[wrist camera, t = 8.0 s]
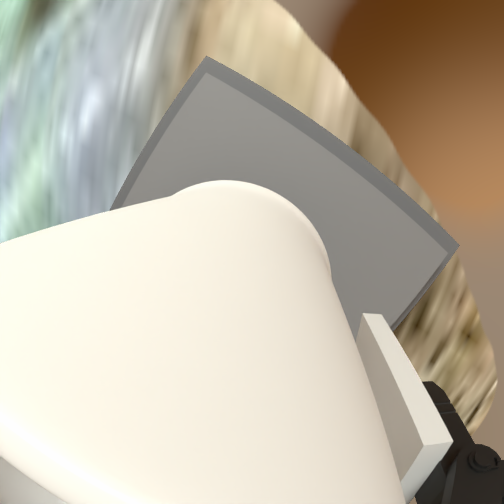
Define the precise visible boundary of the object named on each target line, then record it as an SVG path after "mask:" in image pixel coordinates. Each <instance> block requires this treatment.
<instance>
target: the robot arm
mask: <svg viewBox="0 0 504 504" xmlns="http://www.w3.org/2000/svg"><path fill="white" fill-rule="evenodd" d="M356 346H357V348H358V351H359V354H360V357H361V359H362V362H363V365H364V368H365V371H366V374H367V377H368V379H369V382H370V385H371V388H372V391H373V394H374V397H375V400H376V403H377V406H378V409H379V412H380V416H381V419H382V422H383V425H384V428H385V431H386V435H387V438H388V441H389V445H390V448H391V451H392V455H393V458H394V462H395V465H396V469H397V472H398V476H399V479H400V483H401V487H402V490H403V494H404V498H405V502H406V504H409V503H410V501H411V500H412V499H413V498H414V497H415V498H416V502H417V504H504V460H501V458H500V457H499V455H498V454H497V453H496V452H495V451H494V450H493V449H491V448H490V447H488V446H485V445H482V444H475V443H474V441H473V440H472V438H471V436H470V434H469V433H468V431H467V429H466V427H465V426H464V424H463V422H462V420H461V419H460V417H459V415H458V413H456V412H455V411H456V410H455V408H454V407H453V405H452V404H450V400H449V398H448V397H447V395H446V393H445V392H444V390H442V389H441V388H440V387H439V386H438V385H436V384H435V383H434V382H433V381H428V382H422V381H421V380H420V378H419V376H418V374H417V373H416V371H415V369H414V367H413V366H412V364H411V362H410V361H409V359H408V357H407V355H406V354H405V352H404V350H403V349H402V347H401V345H400V344H399V342H398V340H397V339H396V337H395V335H394V334H393V332H392V330H391V329H390V327H389V326H388V324H387V322H386V321H385V319H384V318H383V316H382V314H369V313H362V318H361V322H360V327H359V331H358V335H357V339H356Z"/></svg>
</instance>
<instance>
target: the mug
mask: <svg viewBox="0 0 504 504" xmlns="http://www.w3.org/2000/svg"><path fill="white" fill-rule="evenodd" d="M0 504H406V502H405V498H404V494H403V490H402V487H401V483H400V479H399V476H398V472H397V469H396V465H395V462H394V458H393V455H392V451H391V448H390V445H389V441H388V438H387V435H386V431H385V428H384V425H383V422H382V419H381V416H380V412H379V409H378V406H377V403H376V400H375V397H374V394H373V391H372V388H371V385H370V382H369V379H368V377H367V374H366V371H365V368H364V365H363V362H362V359H361V357H360V354H359V351H358V348H357V346H356V343H355V340H354V337H353V335H352V332H351V329H350V327H349V324H348V321H347V319H346V316H345V313H344V311H343V308H342V306H341V303H340V300H339V298H338V295H337V293H336V290H335V288H334V285H333V283H332V277H331V268H330V262H329V258H328V255H327V252H326V249H325V246H324V244H323V242H322V240H321V238H320V236H319V234H318V232H317V231H316V229H315V228H314V226H313V225H312V223H311V222H310V221H309V219H308V218H307V217H306V216H305V215H304V214H303V213H302V212H301V211H300V210H299V209H298V208H297V207H296V206H295V205H293V204H292V203H291V202H290V201H288V200H287V199H285V198H284V197H282V196H281V195H279V194H277V193H275V192H273V191H271V190H269V189H267V188H264V187H262V186H259V185H255V184H252V183H247V182H242V181H234V180H218V181H209V182H204V183H200V184H196V185H193V186H190V187H188V188H185V189H183V190H181V191H179V192H177V193H175V194H174V195H172V196H169V197H165V198H160V199H156V200H152V201H148V202H143V203H139V204H135V205H131V206H127V207H123V208H119V209H115V210H111V211H107V212H104V213H100V214H96V215H92V216H89V217H85V218H81V219H78V220H74V221H71V222H67V223H64V224H60V225H57V226H54V227H50V228H47V229H44V230H40V231H37V232H34V233H31V234H28V235H24V236H21V237H18V238H15V239H12V240H9V241H6V242H3V243H0Z"/></svg>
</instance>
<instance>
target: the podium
mask: <svg viewBox="0 0 504 504" xmlns="http://www.w3.org/2000/svg"><path fill="white" fill-rule="evenodd" d="M218 180H234V181H242V182H247V183H252V184H255V185H259V186H262V187H264V188H267V189H269V190H271V191H273V192H275V193H277V194H279V195H281V196H282V197H284V198H285V199H287V200H288V201H290V202H291V203H292V204H293V205H295V206H296V207H297V208H298V209H299V210H300V211H301V212H302V213H303V214H304V215H305V216H306V217H307V218H308V219H309V221H310V222H311V223H312V225H313V226H314V228H315V229H316V231H317V232H318V234H319V236H320V238H321V240H322V242H323V244H324V246H325V249H326V252H327V255H328V258H329V262H330V268H331V277H332V283H333V285H334V288H335V290H336V293H337V295H338V298H339V300H340V303H341V306H342V308H343V311H344V313H345V316H346V319H347V321H348V324H349V327H350V329H351V332H352V335H353V337H354V340H355V343H356V339H357V335H358V331H359V327H360V322H361V318H362V313H369V314H382V316H383V318H384V319H385V321H386V322H387V324H388V326H389V327H390V329H391V330H392V332H393V331H394V330H395V329H396V327H397V326H398V325H399V324H400V323H401V322H402V320H403V319H404V318H405V317H406V316H407V315H408V313H409V312H410V311H411V310H412V308H413V307H414V306H415V305H416V304H417V302H418V301H419V300H420V299H421V297H422V296H423V295H424V294H425V292H426V291H427V290H428V288H429V287H430V286H431V284H432V283H433V282H434V280H435V279H436V278H437V276H438V275H439V274H440V272H441V271H442V270H443V268H444V267H445V266H446V264H447V263H448V261H449V260H450V259H451V257H452V256H453V254H454V253H455V251H456V250H457V248H458V247H459V244H458V243H457V242H456V241H455V240H454V239H453V238H452V237H451V236H450V235H449V234H448V233H447V232H446V231H445V230H444V229H443V228H442V227H441V226H440V225H439V224H438V223H437V222H436V221H435V220H434V219H433V218H432V217H431V216H430V215H429V214H428V213H427V212H425V211H424V210H423V209H422V208H421V207H420V206H419V205H418V204H417V203H416V202H415V201H414V200H412V199H411V198H410V197H409V196H408V195H407V194H406V193H405V192H404V191H402V190H401V189H400V188H399V187H398V186H397V185H396V184H394V183H393V182H392V181H391V180H390V179H389V178H387V177H386V176H385V175H384V174H383V173H381V172H380V171H379V170H378V169H377V168H375V167H374V166H373V165H372V164H370V163H369V162H368V161H367V160H365V159H364V158H363V157H362V156H360V155H359V154H358V153H357V152H355V151H354V150H353V149H351V148H350V147H349V146H348V145H346V144H345V143H344V142H342V141H341V140H340V139H338V138H337V137H336V136H334V135H333V134H331V133H330V132H329V131H327V130H326V129H325V128H323V127H322V126H320V125H319V124H317V123H316V122H315V121H313V120H312V119H310V118H309V117H307V116H306V115H305V114H303V113H302V112H300V111H299V110H297V109H296V108H294V107H293V106H291V105H290V104H288V103H286V102H285V101H283V100H282V99H280V98H279V97H277V96H276V95H274V94H272V93H271V92H269V91H268V90H266V89H264V88H263V87H261V86H259V85H258V84H256V83H254V82H253V81H251V80H249V79H248V78H246V77H244V76H242V75H241V74H239V73H237V72H235V71H234V70H232V69H230V68H228V67H226V66H225V65H223V64H221V63H219V62H217V61H215V60H214V59H212V58H210V57H208V56H206V57H205V58H204V60H203V61H202V62H201V64H200V65H199V66H198V68H197V69H196V70H195V72H194V73H193V74H192V76H191V77H190V78H189V80H188V81H187V83H186V84H185V85H184V87H183V88H182V90H181V91H180V93H179V94H178V95H177V97H176V98H175V100H174V101H173V103H172V104H171V106H170V107H169V109H168V110H167V112H166V113H165V115H164V116H163V118H162V119H161V121H160V123H159V124H158V126H157V127H156V129H155V130H154V132H153V134H152V135H151V137H150V139H149V140H148V142H147V144H146V145H145V147H144V149H143V150H142V152H141V154H140V155H139V157H138V159H137V160H136V162H135V164H134V166H133V167H132V169H131V171H130V173H129V175H128V176H127V178H126V180H125V182H124V184H123V186H122V187H121V189H120V191H119V193H118V195H117V197H116V199H115V201H114V203H113V205H112V207H111V209H110V211H111V210H115V209H119V208H123V207H127V206H131V205H135V204H139V203H143V202H148V201H152V200H156V199H160V198H165V197H169V196H172V195H174V194H175V193H177V192H179V191H181V190H183V189H185V188H188V187H190V186H193V185H196V184H200V183H204V182H209V181H218Z"/></svg>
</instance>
